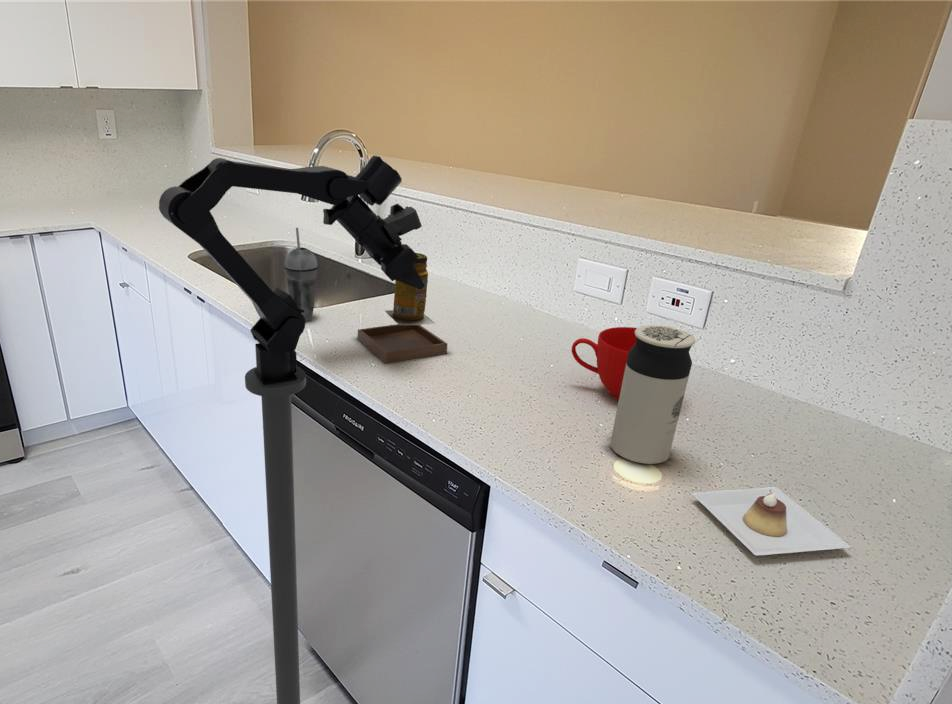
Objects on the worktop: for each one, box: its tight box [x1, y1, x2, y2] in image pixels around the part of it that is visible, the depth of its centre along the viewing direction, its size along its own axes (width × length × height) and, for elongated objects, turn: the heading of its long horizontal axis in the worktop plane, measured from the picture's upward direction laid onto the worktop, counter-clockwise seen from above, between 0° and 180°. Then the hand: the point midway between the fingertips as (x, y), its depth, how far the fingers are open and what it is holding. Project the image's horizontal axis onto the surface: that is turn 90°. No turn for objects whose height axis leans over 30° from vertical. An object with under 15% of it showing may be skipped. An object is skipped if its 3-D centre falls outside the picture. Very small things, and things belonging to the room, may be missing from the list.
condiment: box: [384, 252, 436, 326], centre depth 121 cm, size 7×8×12 cm
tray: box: [357, 323, 448, 364], centre depth 128 cm, size 13×13×2 cm
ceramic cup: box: [571, 326, 638, 401], centre depth 109 cm, size 13×17×10 cm
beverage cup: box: [283, 227, 319, 322], centre depth 138 cm, size 7×7×20 cm
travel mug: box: [609, 324, 696, 465], centre depth 90 cm, size 8×8×18 cm
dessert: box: [691, 486, 852, 557], centre depth 77 cm, size 12×12×5 cm
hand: (418, 283), depth 122 cm, fingers closed on condiment, 6 cm apart
